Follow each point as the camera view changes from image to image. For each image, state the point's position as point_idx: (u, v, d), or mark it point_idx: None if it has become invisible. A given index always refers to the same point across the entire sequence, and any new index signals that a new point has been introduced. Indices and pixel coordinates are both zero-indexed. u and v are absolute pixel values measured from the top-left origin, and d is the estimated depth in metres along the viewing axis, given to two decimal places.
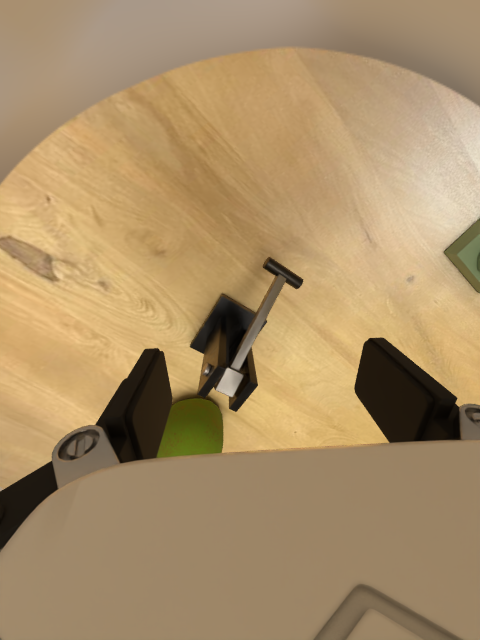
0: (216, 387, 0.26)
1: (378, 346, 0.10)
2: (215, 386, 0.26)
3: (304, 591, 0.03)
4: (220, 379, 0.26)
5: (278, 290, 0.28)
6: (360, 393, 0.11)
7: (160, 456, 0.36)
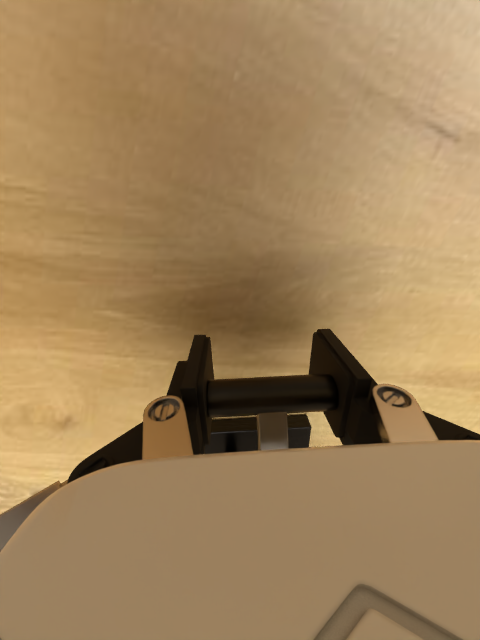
0: None
1: (324, 336, 0.11)
2: None
3: (304, 591, 0.03)
4: None
5: None
6: None
7: None
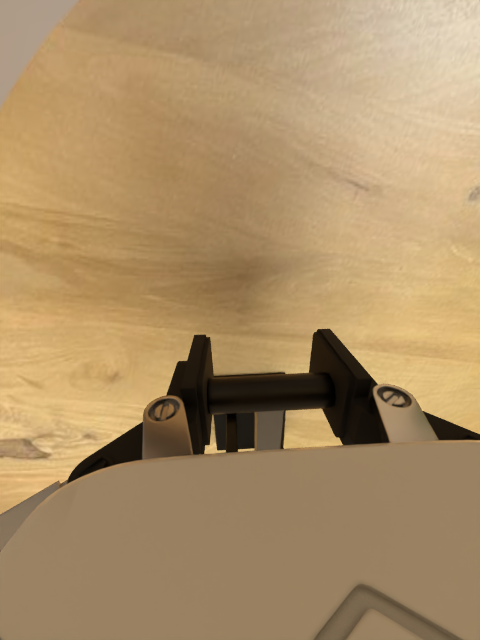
0: None
1: (324, 336, 0.11)
2: None
3: (304, 591, 0.03)
4: None
5: (275, 436, 0.11)
6: None
7: None
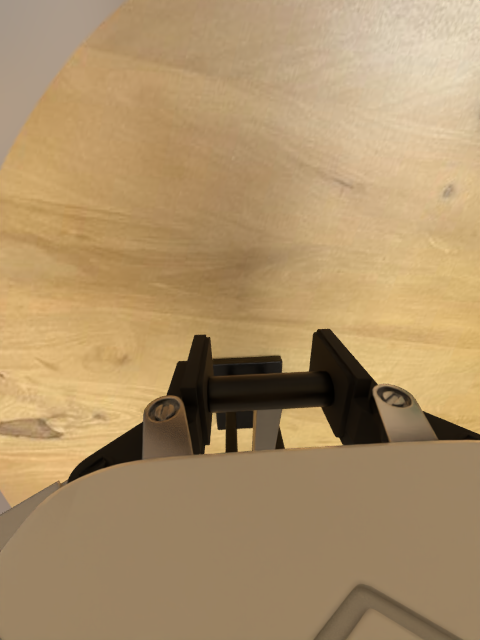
0: None
1: (324, 336, 0.11)
2: None
3: (304, 591, 0.03)
4: None
5: (273, 427, 0.11)
6: None
7: None
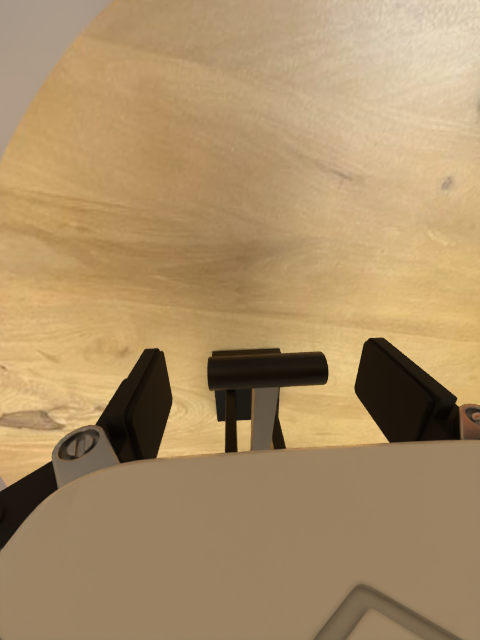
0: None
1: (378, 346, 0.10)
2: None
3: (304, 591, 0.03)
4: None
5: (271, 407, 0.12)
6: (360, 393, 0.11)
7: None
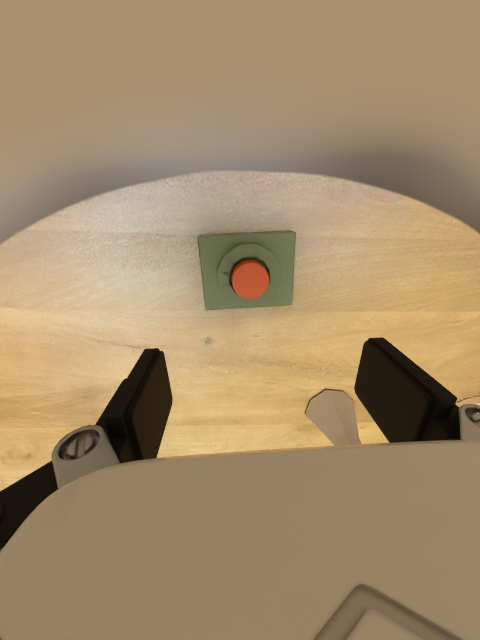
0: None
1: (378, 346, 0.10)
2: None
3: (304, 591, 0.03)
4: None
5: None
6: (360, 393, 0.11)
7: None
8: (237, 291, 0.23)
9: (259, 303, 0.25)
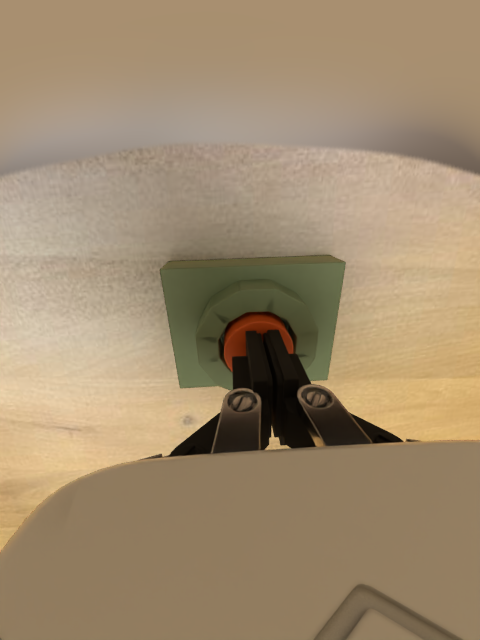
0: None
1: (271, 337, 0.11)
2: None
3: (304, 591, 0.03)
4: None
5: None
6: None
7: None
8: None
9: None
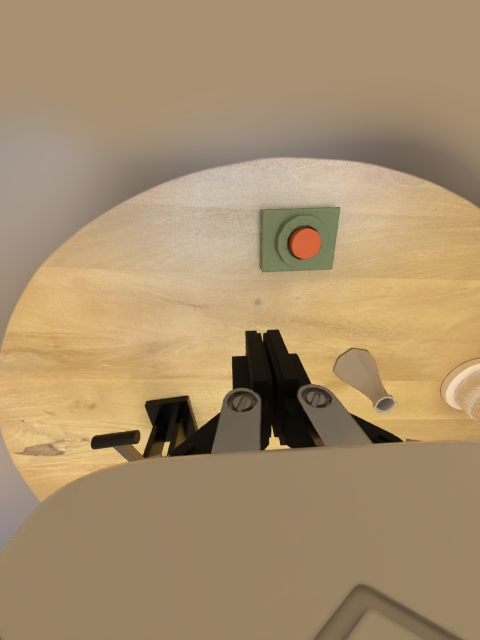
0: None
1: (271, 337, 0.11)
2: None
3: (304, 591, 0.03)
4: None
5: (125, 451, 0.28)
6: None
7: None
8: (295, 252, 0.30)
9: (309, 264, 0.32)
